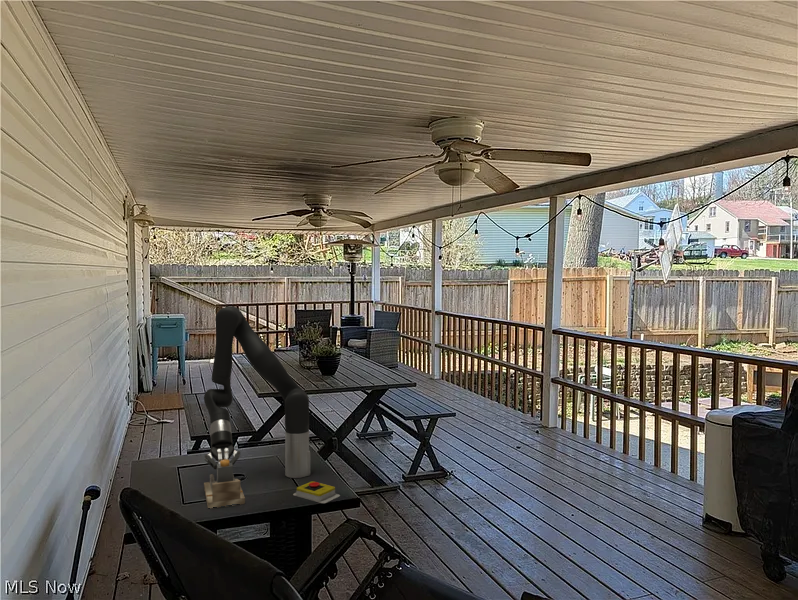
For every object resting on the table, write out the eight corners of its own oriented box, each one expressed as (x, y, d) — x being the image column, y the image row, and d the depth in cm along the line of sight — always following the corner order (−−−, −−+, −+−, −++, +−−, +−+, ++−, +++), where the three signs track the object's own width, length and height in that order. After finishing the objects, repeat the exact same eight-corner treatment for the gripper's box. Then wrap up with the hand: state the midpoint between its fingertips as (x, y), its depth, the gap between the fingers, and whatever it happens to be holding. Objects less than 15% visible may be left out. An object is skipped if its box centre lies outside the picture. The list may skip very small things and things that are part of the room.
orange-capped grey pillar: (231, 490, 201) (231, 458, 201) (233, 494, 197) (232, 461, 197) (216, 492, 199) (216, 459, 199) (217, 496, 195) (217, 463, 195)
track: (237, 484, 214) (237, 462, 214) (244, 503, 195) (244, 480, 195) (204, 488, 210) (204, 466, 210) (207, 508, 190) (207, 485, 190)
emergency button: (309, 476, 211) (341, 484, 203) (309, 488, 211) (341, 497, 203) (291, 484, 203) (324, 492, 195) (291, 496, 203) (324, 505, 195)
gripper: (202, 431, 206) (204, 475, 195) (240, 428, 211) (244, 470, 200) (201, 442, 211) (204, 485, 200) (238, 438, 216) (242, 481, 205)
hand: (224, 478), depth 200 cm, fingers closed
